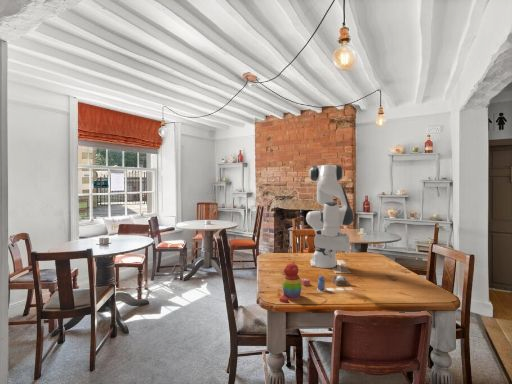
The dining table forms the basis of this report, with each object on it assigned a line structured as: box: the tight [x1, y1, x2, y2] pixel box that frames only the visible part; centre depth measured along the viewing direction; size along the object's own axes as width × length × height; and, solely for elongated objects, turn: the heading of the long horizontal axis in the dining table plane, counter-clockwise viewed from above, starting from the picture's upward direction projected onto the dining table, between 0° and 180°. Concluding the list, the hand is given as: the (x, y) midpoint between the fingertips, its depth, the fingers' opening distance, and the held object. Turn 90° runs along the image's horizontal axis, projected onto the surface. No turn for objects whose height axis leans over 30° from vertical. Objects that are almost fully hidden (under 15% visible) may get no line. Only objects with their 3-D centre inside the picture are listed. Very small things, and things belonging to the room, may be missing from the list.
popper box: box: [331, 276, 350, 287], centre depth 166 cm, size 7×7×4 cm
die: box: [300, 277, 311, 287], centre depth 165 cm, size 4×4×4 cm
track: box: [315, 286, 354, 292], centre depth 157 cm, size 8×22×1 cm, turn 94°
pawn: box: [317, 275, 326, 292], centre depth 156 cm, size 4×4×7 cm
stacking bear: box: [279, 262, 303, 303], centre depth 147 cm, size 11×10×18 cm
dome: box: [336, 275, 344, 280], centre depth 166 cm, size 4×4×4 cm
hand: (331, 257), depth 160 cm, fingers closed
